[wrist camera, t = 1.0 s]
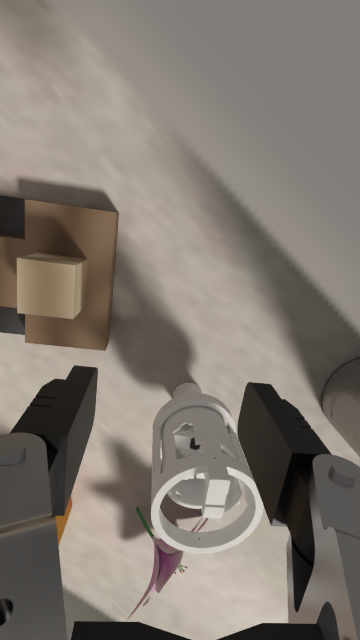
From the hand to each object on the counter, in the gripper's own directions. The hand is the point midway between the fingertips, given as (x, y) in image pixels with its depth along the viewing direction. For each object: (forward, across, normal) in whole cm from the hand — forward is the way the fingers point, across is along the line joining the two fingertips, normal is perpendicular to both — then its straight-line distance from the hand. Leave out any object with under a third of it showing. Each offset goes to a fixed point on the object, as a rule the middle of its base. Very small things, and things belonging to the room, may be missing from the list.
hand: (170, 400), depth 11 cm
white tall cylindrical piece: (+20, -4, +11) cm, 23 cm away
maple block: (+17, +8, 0) cm, 19 cm away
